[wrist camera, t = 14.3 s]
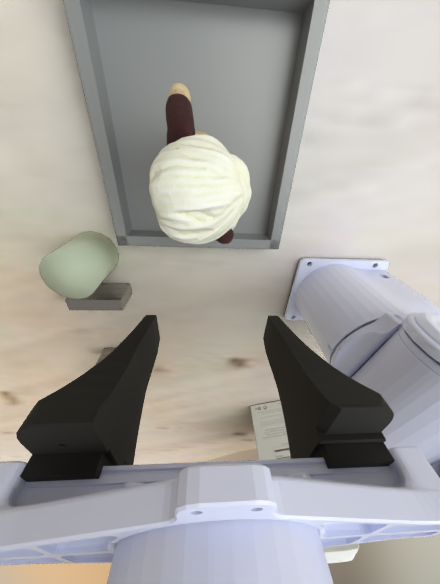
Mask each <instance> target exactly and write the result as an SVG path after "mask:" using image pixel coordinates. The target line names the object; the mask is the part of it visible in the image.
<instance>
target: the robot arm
mask: <svg viewBox="0 0 440 584" xmlns="http://www.w3.org/2000/svg"><path fill="white" fill-rule="evenodd" d="M308 262H311V263H310V264H309V265H307V264H308ZM374 264H375V265H374ZM373 265H374V266H373ZM388 266H389V262H388V261H386V260H369V259H326V258H303V259H301V260H300V261H299V264H298V268H297V271H296V275H295V279H294V282H293V286H292V290H291V293H290V297H289V301H288V304H287V308H286V312H285V315H284V317H285V319H286V320H304V321H305V323H306V324H307V326H308V328H309V330H310V331H311V333H312V335H313V337H314V338H315V340H316V342H317V344H318V345H319V347H320V349H321V351H322V352H323V354H324V356H325V358H326V359H327V361H328V363H327V362H326V361H325V360H323V359H322V358H321V357H319V356H318V355H317V354H316V353H314V352H313V351H312V350H311V349H310V348H309V347H308V346H306V345H305V344H304V343H303V342H302V341H301V340H300V339H299V338H298V337H297V336H296V335H295V334H294V333H293V332H292V331H291V330H290V329H289V328H288V327H287V326H286V324H285V323H284V322H283V321H282V320H281V319H280V318H279V317H278V316H268V319H267V324H266V329H265V333H264V338H263V339H264V345H265V350H266V354H267V357H268V360H269V363H270V366H271V369H272V372H273V375H274V378H275V381H276V385H277V388H278V392H279V396H280V401H281V406H282V410H283V415H284V420H285V426H286V431H287V437H288V443H289V449H290V456H291V459H272V460H247V461H224V462H223V461H222V462H197V463H172V464H147V465H133V462H134V455H135V449H136V442H137V436H138V430H139V425H140V419H141V414H142V408H143V403H144V398H145V393H146V389H147V385H148V382H149V379H150V376H151V372H152V369H153V366H154V363H155V359H156V356H157V352H158V347H159V341H160V336H159V330H158V323H157V317H156V315H146V316H145V317H144V318H143V319H142V321H141V322H140V323H139V324H138V325H137V326H136V328H135V329H134V330H133V331H132V332H131V333H130V334H129V335H128V336H127V337H126V339H125V340H124V341H123V342H122V343H121V344H120V345H119V346H118V347H116V348H115V349H114V350H113V351H112V352H111V353H110V354H109V355H108V356H107V357H105V358H104V359H103V360H102V361H101V362H99V363H98V364H97V365H95V366H94V367H93V368H91V369H90V370H89V371H87V372H86V373H85V374H83V375H82V376H80V377H79V378H77V379H76V380H74V381H72V382H71V383H69V384H68V385H66V386H64V387H63V388H61V389H59V390H57V391H56V392H54V393H52V394H50V395H49V396H47V397H45V398H43V399H41V400H39V401H38V402H37V404H36V405H35V406H34V408H33V409H32V410H31V412H30V413H29V415H28V416H27V418H26V419H25V421H24V422H23V424H22V425H21V427H20V428H19V430H18V431H17V439H18V440H19V442H20V443H21V444H22V445H23V446H24V447H25V448H26V449H27V450H28V451H29V452H31V453H32V454H33V455H32V456H31V458H30V460H29V462H28V463H26V462H21V461H10V462H0V565H21V564H61V563H62V564H63V563H64V564H65V563H112V564H111V569H110V573H109V577H108V581H107V584H333V581H332V578H331V574H330V571H329V567H328V563H327V560H326V557H325V553H324V550H323V548H325V547H333V546H341V545H350V544H358V543H365V542H374V541H383V540H392V539H402V538H413V537H427V536H433V535H436V534H439V533H440V310H439V309H438V307H437V306H436V305H435V304H434V303H433V302H432V301H430V300H429V299H428V298H426V297H425V296H423V295H422V294H420V293H419V292H417V291H416V290H414V289H413V288H411V287H410V286H408V285H407V284H405V283H404V282H402V281H401V280H399V279H398V278H396V277H395V276H393V275H392V274H390V273H389V272H387V271H386V270H387V268H388ZM292 316H293V317H292Z"/></svg>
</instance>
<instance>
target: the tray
mask: <svg viewBox="0 0 440 584" xmlns="http://www.w3.org/2000/svg"><path fill="white" fill-rule="evenodd" d="M63 2H64V6H65V11H66V15H67V20H68V24H69V28H70V33H71V37H72V42H73V46H74V51H75V55H76V59H77V64H78V68H79V73H80V77H81V82H82V86H83V90H84V95H85V99H86V104H87V108H88V113H89V117H90V121H91V126H92V130H93V135H94V139H95V144H96V148H97V153H98V157H99V161H100V166H101V170H102V175H103V179H104V184H105V188H106V192H107V197H108V201H109V206H110V210H111V215H112V219H113V223H114V228H115V232H116V237H117V241H118V245H129V246H168V247H207V248H246V249H279V244H280V239H281V234H282V229H283V225H284V220H285V215H286V210H287V205H288V201H289V196H290V191H291V186H292V181H293V176H294V172H295V167H296V162H297V157H298V152H299V147H300V143H301V138H302V133H303V128H304V123H305V118H306V114H307V109H308V104H309V99H310V94H311V90H312V85H313V80H314V75H315V70H316V65H317V61H318V56H319V51H320V46H321V41H322V36H323V32H324V27H325V22H326V17H327V12H328V8H329V3H330V0H63ZM175 83H182V84H184V85H185V86H186V87H187V89H188V90H189V93H190V96H191V105H192V110H193V118H194V126H195V131H199V132H205V133H207V134H208V135H209V136H212V137H214V138H215V139H217V140H218V141H219V142H221V143H222V145H223V146H224V147H225V148H226V149H227V150H228V152H229V153H230V154H232V155H236V156H237V157H238V158H240V159H241V160H242V161H243V162H244V163H245V164H246V166H247V168H248V171H249V176H250V186H251V190H252V193H251V199H250V201H249V204H248V207H247V209H246V211H245V212H244V213H243V214H242V215H241V217H240V218H239V220H238V222H237V224H236V226H235V228H234V230H233V232H234V236H233V239H232V241H231V242H230V243H228V244H221V243H219V242H218V241H216V240H214V241H211V242H208V243H205V244H190V243H183V242H179V241H177V240H174V239H172V238H170V237H169V236H168V235H167V234H166V233H165V232H163V231H162V229H161V228H160V226H159V223H158V220H157V216H156V212H155V209H154V207H153V205H152V200H151V196H150V193H149V184H150V176H149V173H150V169H151V165H152V163H153V161H154V160H155V158H156V157H157V156H158V155H159V152H160V151H161V150H162V149H163V148H164V147H165V146H166V145H167V122H166V112H165V109H166V102H167V99H168V95H169V90H170V88H171V86H172V85H173V84H175Z"/></svg>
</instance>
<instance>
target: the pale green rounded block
mask: <svg viewBox="0 0 440 584" xmlns="http://www.w3.org/2000/svg"><path fill="white" fill-rule="evenodd" d="M118 259H119V253H118V250H117V247H116V246H115V244H114V243H113V242H112V241H111V240H110V239H109V238H108V237H106V236H105V235H103V234H101V233H98V232H93V231H88V232H84V233H81V234H80V235H78V236H77V237H75V238H73V239H72V240H70V241H69V242H67V243H66V244H64V245H63V246H61V247H59V248H58V249H56V250H55V251H53V252H52V253H50V254H49V255H47V256H46V257H44V258H43V259H42V260H41V262H40V265H39V272H40V275H41V278H42V279H43V281H44V282H45V284H46V285H47V286H48V287H49V288H50V289H52V290H53V291H54V292H56V293H58V294H60V295H62V296H65V297H68V298H73V299H82V298H86V297H88V296H90V295H91V294H93V292H94V291H95V290H96V289H97V288H98V286H99V285H100V284H101V283H102V281H103V280H104V279H105V278H106V276H107V275H108V274H109V273H110V272H111V270H112V269H113V268H114V267H115V265H116V264H117V262H118Z"/></svg>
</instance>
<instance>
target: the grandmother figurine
mask: <svg viewBox="0 0 440 584" xmlns="http://www.w3.org/2000/svg"><path fill="white" fill-rule="evenodd" d="M165 112H166V122H167V145H166V146H165V147H164V148H163V149H162V150H161V151H160V152H159V155H158V156H157V157H156V158H155V160H154V161H153V163H152V165H151V169H150V173H149V176H150V184H149V193H150V196H151V200H152V205H153V207H154V209H155V212H156V216H157V220H158V223H159V226H160V228H161V229H162V231H163V232H165V233H166V234H167V235H168V236H169V237H170V238H172V239H174V240H177V241H179V242H183V243H190V244H205V243H208V242H211V241H214V240H216V241H218V242H219V243H221V244H228V243H230V242H231V241H232V239H233V236H234V232H233V230H234V228H235V226H236V224H237V222H238V220H239V218H240V217H241V215H242V214H243V213H244V212H245V211H246V209H247V207H248V204H249V201H250V199H251V193H252V190H251V186H250V176H249V171H248V168H247V166H246V164H245V163H244V162H243V161H242V160H241V159H240V158H238V157H237V156H236V155H232V154H230V153H229V152H228V150H227V149H226V148H225V147H224V146H223V145H222V143H221V142H219V141H218V140H217V139H215V138H214V137H212V136H209V135H208V134H207V133H205V132H199V131H195V126H194V118H193V110H192V105H191V96H190V93H189V90H188V89H187V87H186V86H185V85H184V84H182V83H175V84H173V85H172V86H171V88H170V90H169V95H168V99H167V102H166V109H165Z"/></svg>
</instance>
